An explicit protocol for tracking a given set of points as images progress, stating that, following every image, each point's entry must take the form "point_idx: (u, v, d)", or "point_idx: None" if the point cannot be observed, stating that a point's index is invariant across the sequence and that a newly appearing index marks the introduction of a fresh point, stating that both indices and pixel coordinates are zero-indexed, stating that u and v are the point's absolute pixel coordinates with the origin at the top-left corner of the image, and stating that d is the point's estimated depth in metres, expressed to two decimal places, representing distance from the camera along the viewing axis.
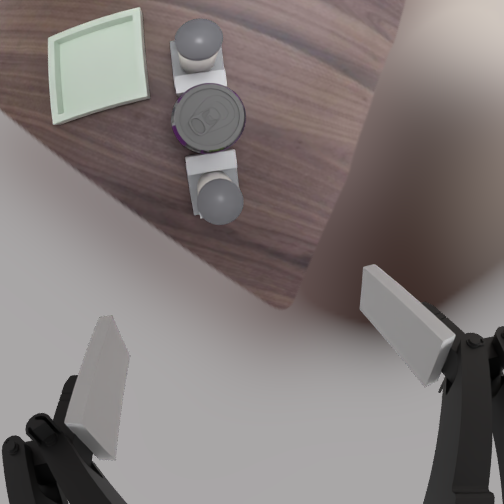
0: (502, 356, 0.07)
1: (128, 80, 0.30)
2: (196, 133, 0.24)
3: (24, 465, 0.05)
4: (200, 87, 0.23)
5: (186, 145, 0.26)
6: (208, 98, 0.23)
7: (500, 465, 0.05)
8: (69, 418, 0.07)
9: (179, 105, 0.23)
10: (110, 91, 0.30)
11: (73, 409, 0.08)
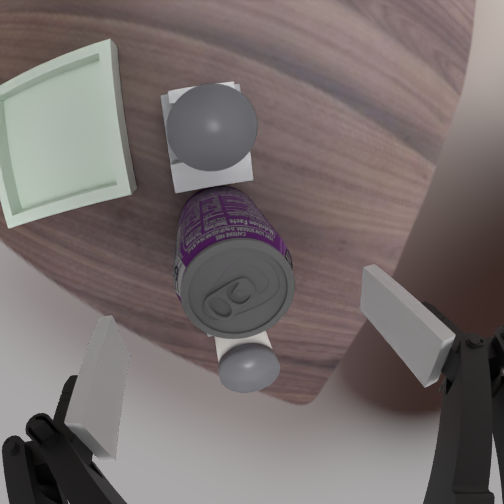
0: (502, 356, 0.07)
1: (101, 161, 0.21)
2: (218, 318, 0.16)
3: (24, 465, 0.05)
4: (221, 246, 0.14)
5: None
6: (235, 262, 0.15)
7: (500, 465, 0.05)
8: (69, 418, 0.07)
9: (186, 278, 0.15)
10: (78, 178, 0.21)
11: (73, 409, 0.08)
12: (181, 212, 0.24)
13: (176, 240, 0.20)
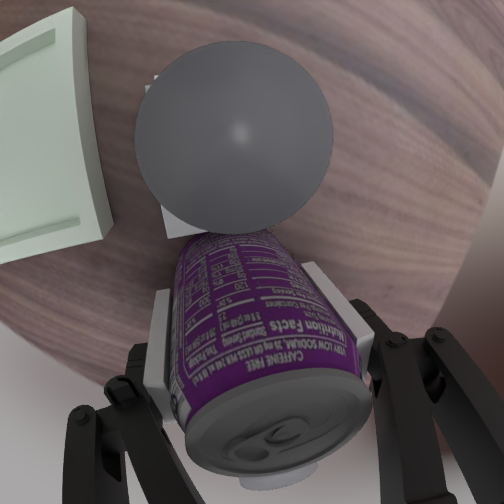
0: (438, 361, 0.08)
1: (62, 186, 0.14)
2: (247, 462, 0.08)
3: (91, 438, 0.07)
4: (261, 392, 0.07)
5: None
6: (282, 403, 0.07)
7: (461, 468, 0.06)
8: (148, 378, 0.09)
9: (194, 432, 0.07)
10: (33, 210, 0.14)
11: (151, 370, 0.10)
12: (178, 262, 0.16)
13: None
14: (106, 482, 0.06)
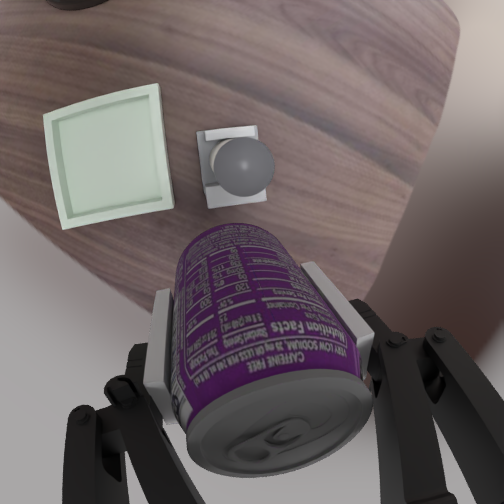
0: (438, 361, 0.08)
1: (147, 180, 0.29)
2: (248, 463, 0.08)
3: (91, 438, 0.07)
4: (262, 393, 0.07)
5: None
6: (283, 404, 0.07)
7: (462, 468, 0.06)
8: (148, 378, 0.09)
9: (196, 433, 0.07)
10: (127, 192, 0.29)
11: (151, 370, 0.10)
12: (179, 262, 0.16)
13: None
14: (106, 482, 0.06)
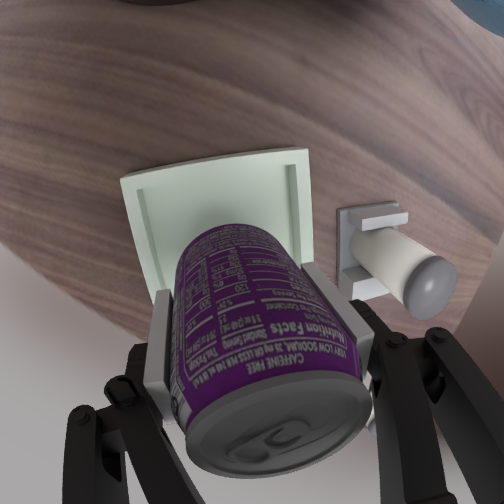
0: (438, 361, 0.08)
1: None
2: (247, 464, 0.08)
3: (92, 438, 0.07)
4: (261, 394, 0.07)
5: None
6: (282, 405, 0.07)
7: (461, 468, 0.06)
8: (148, 378, 0.09)
9: (195, 435, 0.07)
10: None
11: (151, 370, 0.10)
12: (178, 263, 0.16)
13: (172, 319, 0.13)
14: (106, 482, 0.06)
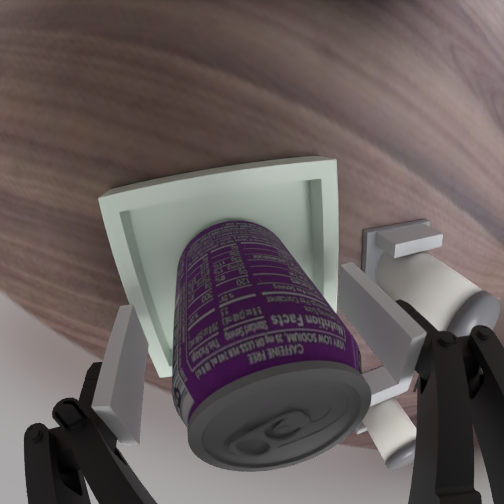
0: (479, 356, 0.08)
1: None
2: (248, 456, 0.09)
3: (47, 454, 0.06)
4: (263, 383, 0.07)
5: None
6: (283, 396, 0.08)
7: (486, 465, 0.05)
8: (96, 402, 0.08)
9: (197, 425, 0.07)
10: None
11: (100, 393, 0.08)
12: (180, 259, 0.17)
13: (174, 314, 0.13)
14: (67, 496, 0.05)
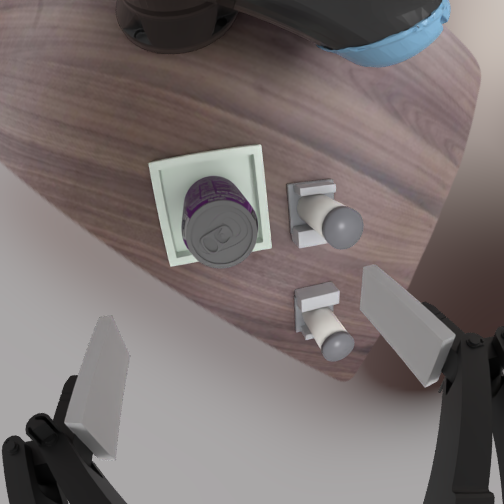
0: (502, 356, 0.07)
1: None
2: (209, 252, 0.26)
3: (24, 465, 0.05)
4: (211, 204, 0.24)
5: None
6: (219, 215, 0.25)
7: (500, 465, 0.05)
8: (69, 418, 0.07)
9: (190, 224, 0.24)
10: None
11: (73, 409, 0.08)
12: (186, 194, 0.34)
13: None
14: None
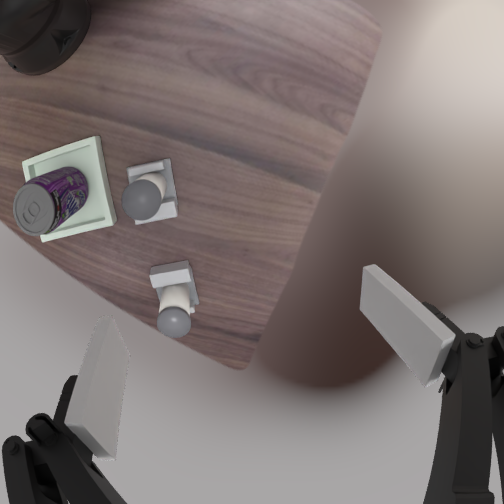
0: (502, 356, 0.07)
1: (96, 205, 0.39)
2: (27, 223, 0.27)
3: (24, 465, 0.05)
4: (23, 187, 0.25)
5: None
6: (30, 195, 0.26)
7: (500, 465, 0.05)
8: (69, 418, 0.07)
9: (14, 203, 0.25)
10: (83, 214, 0.39)
11: (73, 409, 0.08)
12: None
13: None
14: None
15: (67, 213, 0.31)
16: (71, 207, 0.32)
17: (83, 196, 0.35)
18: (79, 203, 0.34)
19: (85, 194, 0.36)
